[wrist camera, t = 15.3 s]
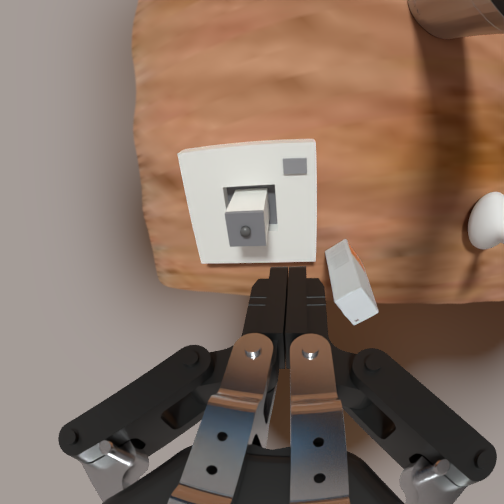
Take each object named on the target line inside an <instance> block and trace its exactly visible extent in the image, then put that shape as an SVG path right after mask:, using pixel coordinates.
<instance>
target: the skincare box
mask: <svg viewBox="0 0 504 504" xmlns="http://www.w3.org/2000/svg"><path fill="white" fill-rule="evenodd" d="M325 255H326V260H327V265H328V270H329V276H330V281H331V286H332V292H333V298H334V302H335V304H336V305H337V306H338V307H339V308H340V310H341V311H342V312H343V314H344V315H345V316H346V317H347V318H348V319H349V320H350V322H351V323H352V324H353V325H356V324H358V323H360V322H362V321H364V320H366V319H368V318H370V317H372V316H373V315H375V314H377V313H378V308H377V305H376V301H375V298H374V295H373V292H372V289H371V286H370V283H369V280H368V277H367V275H366V272H365V269H364V266H363V263H362V261H361V260H360V259H359V257H358V256H357V255H356V253H355V252H354V250H353V249H352V247H351V246H350V244H349V243H348V241H347V240H346V239H344V240H342V241H341V242H339V243H338V244H336V245H334V246H333V247H331V248H329V249H328V250H326V251H325Z"/></svg>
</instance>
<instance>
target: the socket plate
mask: <svg viewBox="0 0 504 504" xmlns="http://www.w3.org/2000/svg"><path fill="white" fill-rule="evenodd" d="M178 159H179V164H180V169H181V174H182V179H183V184H184V189H185V194H186V199H187V203H188V208H189V212H190V217H191V221H192V226H193V230H194V234H195V239H196V243H197V247H198V251H199V255H200V259H201V263H202V264H205V263H269V262H316V228H317V171H316V142H315V140H314V139H288V140H267V141H253V142H241V143H230V144H221V145H212V146H204V147H197V148H190V149H184V150H182V151H181V152H179V153H178ZM255 188H268V201H269V213H270V219H269V227H268V235H267V243H266V246H238V247H230V245H229V239H228V232H227V226H226V220H225V212H226V210H227V207H228V205H229V203H230V201H231V199H232V197H233V195H234V192H235V190H238V189H255Z"/></svg>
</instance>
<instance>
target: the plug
mask: <svg viewBox="0 0 504 504" xmlns="http://www.w3.org/2000/svg"><path fill="white" fill-rule="evenodd" d="M269 219H270V213H269V201H268V188H255V189H238V190H235V192H234V195H233V197H232V199H231V201H230V203H229V205H228V207H227V210H226V212H225V220H226V226H227V232H228V239H229V245H230V247H238V246H266V243H267V235H268V227H269Z"/></svg>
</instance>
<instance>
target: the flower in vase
mask: <svg viewBox="0 0 504 504" xmlns="http://www.w3.org/2000/svg"><path fill="white" fill-rule="evenodd" d="M468 236H469V239H470V242H471V243H472V245H474V246H475V247H477V248H479V249H489V248H492V247H494V246H496V245H498V244H499V243H503V244H504V195H503V194H502V193H500V192H491V193H488V194H486V195H484V196H483V197H482V198H480V199H479V201H478V202H477V203H476V204H475V206H474V208H473V210H472V212H471V214H470V217H469V222H468Z"/></svg>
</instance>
